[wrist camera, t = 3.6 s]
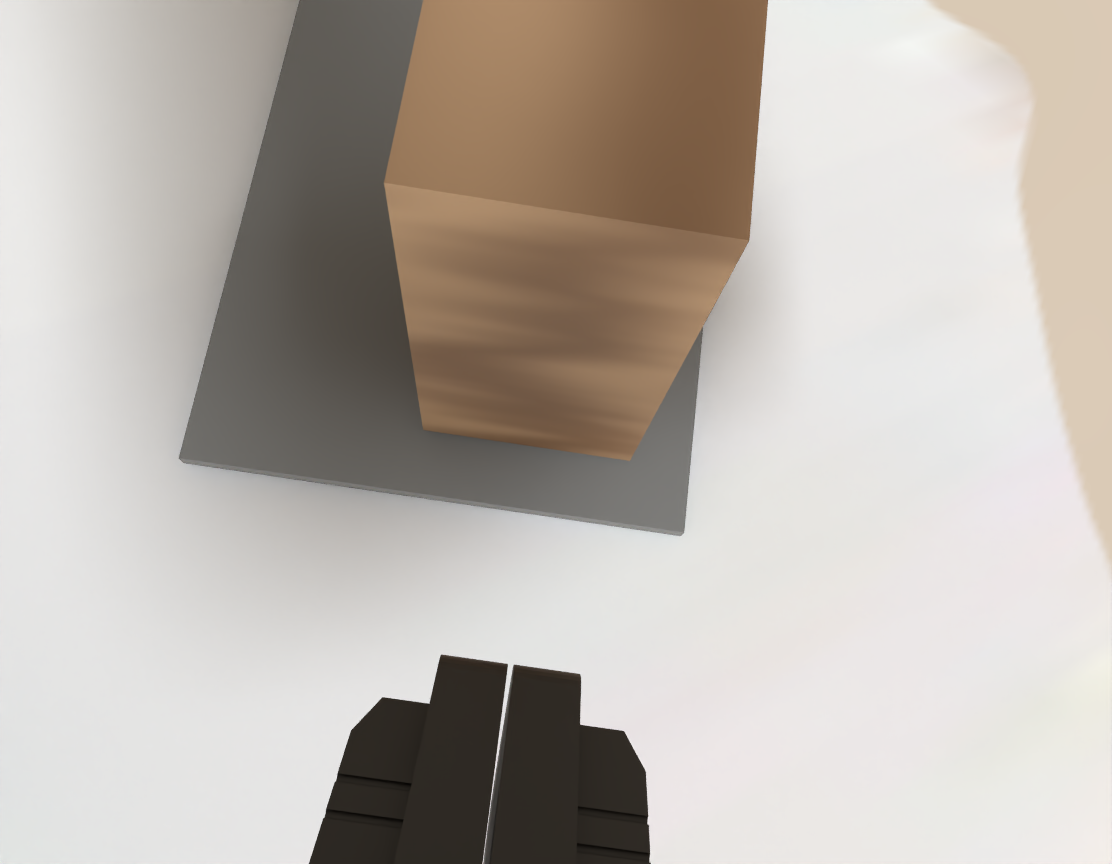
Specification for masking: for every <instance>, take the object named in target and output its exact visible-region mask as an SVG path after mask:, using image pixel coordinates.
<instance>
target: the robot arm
mask: <svg viewBox="0 0 1112 864" xmlns="http://www.w3.org/2000/svg"><path fill="white" fill-rule="evenodd" d="M507 667H508V664H504V663H497V662H490V661H483V660H476V659H469V658H462V657H455V656H448V655H441V657H440V660H439V664H438V668H437V673H436V677H435V682H434V686H433V691H432V695H431V700H430V704H427V703H419V702H412V701H405V700H398V699H391V698H384V697H382V698H381V700H380V701H379V702H378V703H377V704H376V705H375V706H374V707H373V708H372V709H371V710H370V711H369V712H368V713H367V714H366V715H365V716H364V718H363V719H362V720H361V721H360V722H359V723H358V724H357V725H356V726H355V727H354V728H353V729H352V730H351V733H350V736H349V739H348V742H347V745H346V748H345V752H344V755H343V758H342V761H341V764H340V767H339V771H338V775H337V780H336V782H335V783H334V786H333V789H332V793H331V796H330V799H329V802H328V805H327V808H326V814H325V818H323V821H322V824H321V827H320V831H319V834H318V837H317V840H316V843H315V846H314V850H313V853H312V856H311V859H310V862H309V864H482V862H483V855H484V862H483V864H651V863H649V857H650V842H649V825H647V819H648V805H647V787H646V771H645V769H644V768H643V766H642V764H641V762H640V760H639V758H638V756H637V755H636V753H635V751H634V749H633V747H632V745H631V743H630V742H629V740H628V738H627V736H626V734H625V732H624V731H619V730H612V729H605V728H598V727H591V726H584V725H580V701H581V676H580V674H576V673H569V672H562V671H555V670H548V669H541V668H534V667H527V666H520V665H514V666H513V670H512V676H511V682H510V688H509V694H508V701H507V707H506V713H505V719H504V725H503V731H502V737H501V743H500V750H499V756H498V762H497V768H496V774H495V781H494V788H493V794H492V801H491V808H490V800H491V792H492V784H493V777H494V769H495V761H496V753H497V745H498V738H499V730H500V722H501V714H502V707H503V699H504V691H505V683H506V675H507ZM489 808H490V816H489ZM488 816H489V823H488ZM487 823H488V831H487ZM486 831H487V838H486ZM485 839H486V846H485ZM484 847H485V854H484Z"/></svg>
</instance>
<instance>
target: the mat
mask: <svg viewBox="0 0 1112 864" xmlns="http://www.w3.org/2000/svg"><path fill="white" fill-rule="evenodd" d="M422 4H423V0H300V1H299V5H298V9H297V13H296V16H295V20H294V24H293V28H292V31H291V35H290V39H289V43H288V47H287V50H286V54H285V58H284V62H283V66H282V69H281V73H280V77H279V81H278V85H277V88H276V92H275V96H274V100H273V103H272V107H271V111H270V115H269V119H268V122H267V126H266V130H265V134H264V138H263V141H262V145H261V149H260V153H259V156H258V160H257V164H256V168H255V172H254V175H253V179H252V183H251V187H250V191H249V194H248V198H247V202H246V206H245V209H244V213H243V217H242V221H241V225H240V228H239V232H238V236H237V240H236V244H235V247H234V251H233V255H232V259H231V262H230V266H229V270H228V274H227V278H226V281H225V285H224V289H223V293H222V297H221V300H220V304H219V308H218V312H217V315H216V319H215V323H214V327H213V331H212V334H211V338H210V342H209V346H208V350H207V353H206V357H205V361H204V365H203V369H202V372H201V376H200V380H199V384H198V387H197V391H196V395H195V399H194V403H193V406H192V410H191V414H190V418H189V422H188V425H187V429H186V433H185V437H184V440H183V444H182V448H181V452H180V456H179V459H180V460H181V461H182V462H183V463H188V464H195V465H202V466H209V467H216V468H222V469H229V470H236V471H243V472H250V473H256V474H263V475H270V476H277V477H284V478H290V479H297V480H304V481H311V482H317V483H324V484H331V485H338V486H345V487H351V488H358V489H365V490H372V491H379V492H385V493H392V494H399V495H406V496H413V497H419V498H426V499H433V500H440V501H447V502H453V503H460V504H467V505H474V506H481V507H487V508H494V509H501V510H508V511H515V512H521V513H528V514H535V515H542V516H549V517H555V518H562V519H569V520H576V521H583V522H589V523H596V524H603V525H610V526H617V527H623V528H630V529H637V530H644V531H651V532H657V533H664V534H671V535H678V536H681V535H682V534H683V533H684V528H685V517H686V506H687V495H688V484H689V473H690V462H691V451H692V441H693V430H694V419H695V408H696V397H697V386H698V375H699V364H700V353H701V343H702V332H703V327H702V329H701V331H700V332H699V334H698V336H697V338H696V340H695V342H694V343H693V345H692V347H691V349H690V351H689V353H688V355H687V356H686V358H685V360H684V362H683V364H682V366H681V367H680V369H679V371H678V373H677V375H676V377H675V379H674V380H673V382H672V384H671V386H670V388H669V390H668V391H667V393H666V395H665V397H664V399H663V401H662V403H661V404H660V406H659V408H658V410H657V412H656V414H655V416H654V417H653V419H652V421H651V423H650V425H649V427H648V428H647V430H646V432H645V434H644V436H643V438H642V440H641V441H640V443H639V445H638V447H637V449H636V451H635V452H634V454H633V456H632V458H631V460H630V461H627V460H620V459H613V458H607V457H600V456H593V455H587V454H580V453H573V452H567V451H560V450H553V449H546V448H540V447H533V446H526V445H520V444H513V443H506V442H500V441H493V440H486V439H480V438H473V437H466V436H460V435H453V434H446V433H439V432H433V431H426V430H423V426H422V419H421V413H420V407H419V400H418V394H417V388H416V381H415V375H414V369H413V363H412V356H411V350H410V344H409V337H408V331H407V325H406V318H405V312H404V306H403V300H402V293H401V287H400V281H399V274H398V268H397V262H396V255H395V249H394V243H393V237H392V230H391V224H390V218H389V211H388V205H387V199H386V192H385V186H384V180H385V176H386V171H387V166H388V162H389V157H390V152H391V148H392V143H393V138H394V134H395V129H396V124H397V120H398V115H399V111H400V106H401V101H402V97H403V92H404V87H405V83H406V78H407V73H408V69H409V64H410V59H411V55H412V50H413V45H414V41H415V36H416V31H417V27H418V22H419V17H420V13H421V8H422Z"/></svg>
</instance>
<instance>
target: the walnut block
mask: <svg viewBox="0 0 1112 864" xmlns="http://www.w3.org/2000/svg"><path fill="white" fill-rule="evenodd" d="M767 6H768V0H423V4H422V8H421V13H420V17H419V22H418V27H417V31H416V36H415V41H414V45H413V50H412V55H411V59H410V64H409V69H408V73H407V78H406V83H405V87H404V92H403V97H402V101H401V106H400V111H399V115H398V120H397V124H396V129H395V134H394V138H393V143H392V148H391V152H390V157H389V162H388V166H387V171H386V176H385V180H384V186H385V192H386V199H387V205H388V211H389V218H390V224H391V230H392V237H393V243H394V249H395V255H396V262H397V268H398V274H399V281H400V287H401V293H402V300H403V306H404V312H405V318H406V325H407V331H408V337H409V344H410V350H411V356H412V363H413V369H414V375H415V381H416V388H417V394H418V400H419V407H420V413H421V419H422V426H423V430H426V431H433V432H439V433H446V434H453V435H460V436H466V437H473V438H480V439H486V440H493V441H500V442H506V443H513V444H520V445H526V446H533V447H540V448H546V449H553V450H560V451H567V452H573V453H580V454H587V455H593V456H600V457H607V458H613V459H620V460H627V461H630V460H631V458H632V456H633V454H634V452H635V451H636V449H637V447H638V445H639V443H640V441H641V440H642V438H643V436H644V434H645V432H646V430H647V428H648V427H649V425H650V423H651V421H652V419H653V417H654V416H655V414H656V412H657V410H658V408H659V406H660V404H661V403H662V401H663V399H664V397H665V395H666V393H667V391H668V390H669V388H670V386H671V384H672V382H673V380H674V379H675V377H676V375H677V373H678V371H679V369H680V367H681V366H682V364H683V362H684V360H685V358H686V356H687V355H688V353H689V351H690V349H691V347H692V345H693V343H694V342H695V340H696V338H697V336H698V334H699V332H700V331H701V329H702V327H703V325H704V323H705V321H706V319H707V318H708V316H709V314H710V312H711V310H712V308H713V307H714V305H715V303H716V301H717V299H718V297H719V295H720V294H721V292H722V290H723V288H724V286H725V284H726V282H727V281H728V279H729V277H730V275H731V273H732V271H733V270H734V268H735V266H736V264H737V262H738V260H739V258H740V257H741V255H742V253H743V251H744V249H745V247H746V246H747V244H748V242H749V237H750V224H751V211H752V199H753V186H754V173H755V160H756V147H757V135H758V122H759V109H760V96H761V83H762V70H763V58H764V45H765V32H766V19H767Z"/></svg>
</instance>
